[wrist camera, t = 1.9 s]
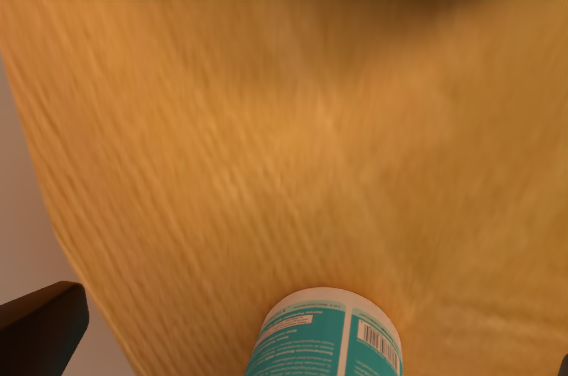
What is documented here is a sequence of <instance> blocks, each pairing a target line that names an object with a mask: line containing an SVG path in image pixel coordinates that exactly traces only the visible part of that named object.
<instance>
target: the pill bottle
mask: <svg viewBox="0 0 568 376" xmlns="http://www.w3.org/2000/svg"><path fill="white" fill-rule="evenodd" d="M244 376H403V360H402V347H401V342H400V338H399V335H398V333H397V330H396V328H395V326H394V325H393V323H392V322H391V320H390V319H389V317H388V316H387V315H386V314H385V313H384V312H383V311H382V310H381V309H380V308H379V307H378V306H377V305H375V304H374V303H372V302H371V301H370V300H368V299H366V298H364V297H363V296H361V295H358V294H356V293H353V292H351V291H347V290H344V289H339V288H332V287H314V288H308V289H304V290H300V291H297V292H294V293H292V294H290V295H288V296H287V297H285V298H284V299H282V300H281V301H279V302H278V303H277V304H276V305H275V306H274V307H273V308H272V309H271V311H270V312H269V313H268V315H267V317H266V318H265V320H264V323H263V325H262V328H261V330H260V333H259V335H258V338H257V341H256V344H255V346H254V349H253V352H252V354H251V357H250V360H249V363H248V366H247V368H246V371H245V374H244Z"/></svg>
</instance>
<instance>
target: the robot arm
mask: <svg viewBox="0 0 568 376" xmlns="http://www.w3.org/2000/svg"><path fill="white" fill-rule="evenodd" d="M88 324H89V311H88V305H87V299H86V294H85V289H84V287H83V285H82V284H80V283H77V282H70V281H60V282H57V283H55V284H52V285H50V286H47V287H45V288H42V289H40V290H37V291H35V292H32V293H30V294H27V295H25V296H22V297H20V298H17V299H15V300H12V301H10V302H8V303H5V304H3V305H0V376H61V375H62V373H63V371H64V370H65V368H66V366H67V364H68V362H69V360H70V358H71V357H72V355H73V353H74V351H75V350H76V348H77V346H78V344H79V342H80V340H81V339H82V337H83V335H84V333H85V331H86V329H87V326H88ZM558 376H568V354H567V355H565V356H564V358H563V360H562V363H561V366H560V369H559V373H558Z"/></svg>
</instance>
